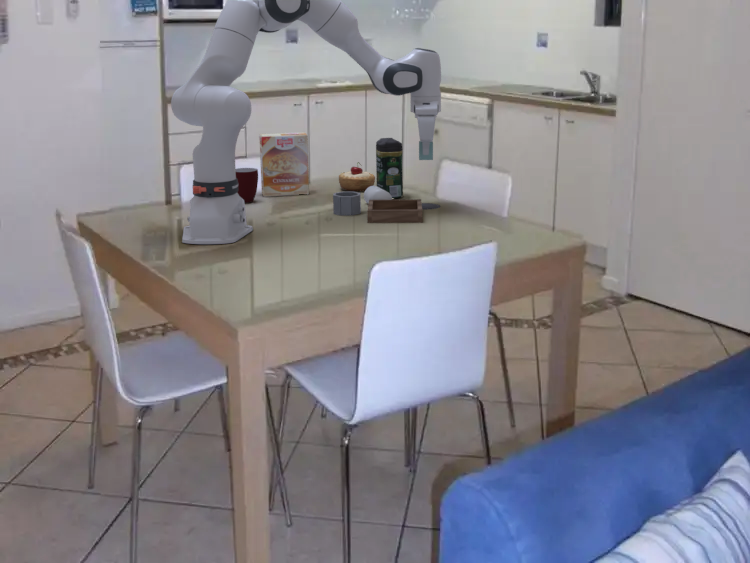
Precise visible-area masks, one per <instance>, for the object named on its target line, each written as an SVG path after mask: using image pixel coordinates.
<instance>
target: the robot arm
mask: <svg viewBox="0 0 750 563" xmlns="http://www.w3.org/2000/svg"><path fill="white" fill-rule="evenodd" d="M296 21H301V22H302V23H304V24H306V25H307V26H308V27H309V28H310V29H311V30H312V31H313V32H314V33H315V34H317V35H318V36H319V37H321V39H323V40H324V41H325V42H327V43H328V44H330V45H332V46H334V47H336V48H338V49H339V50H341V51H343V52H345V54H347V55H348V57H350V58H351V59H353V61H354V62H356V64H358V65H359V66H360V67H361V68H362V69H363V70H364V71H365V72H366V74H367V75H368V76H369V80H370V82H371V84H372V86H373V87H374V89H376V91H378V92H379V93H381V94H385V95H390V96H398V97H399V96H404V95H406V94H410V112H411V113H413V114H414V118H416V119H417V125H418V126H417V127H418V135H419V141H421V142H422V146H423V155H429V145H430V142H432V141H433V140H434V136H435V126H436V119H437V115H438V114H439V113H441V112H442V111H441V110H442V92H441V86H440V85H441V82H442V67H441V66H442V65H441V59H440V56H439V55H440V54H439V53H438V52H436V51H435V50H432V49H427V48H421V47H417V48H413V49H412V50H411V51H410V52H409V53H407V54H405V55H403V56H402V57H400V58H397V59H391V58H389V57H386V56H384V55H382V54H380V53H379V52H378V51H377V49H375V48H374V47H373V46H372V45H371V44H370V43H368V41H367V40H366V39H365V38H364V37H363V36H362V34H361V33H360V29H359V23H358V19H357V18H356V16H355V14H354V13H353V12H352V11H351V9H350V8H349V6H347V5H346V4H345V2H343V1H342V0H227V1H226V3H225V4H224V6H223V8H222V9H221V11H220V13H219V15H218V18H217V20H216V22H215V26H214V28H213V31H212V34H211V36H210V39H209V42H208V46H207V48H206V50H205V53H204V55H203V58H202V59H201V61H200V62H199V64H198V66H197V68H196V69H195V70H194V72H193V73H192V74H191V76H190V77H189V78H188V80H187V81H186V82H185V83H184V84H182V85H181V86H180V87H178V88H177V89H175V91H174V92H173V94H172V96H171V100H170V105H171V110H172V113H173V115H174V116H175V117H176V118H177V119H178V120H179V121H181V122H183V123H185V124H187V125H190V126H195V127H202V135H201V139H200V141H199V143H198V144H197V145H196V146H194V148H193V150H192V165H193V178H194V179H193V180H192V195H193V197H191V199H190V200H189V203H190V205H189V206H190V207H189V208H190V209H189V216H187V222H189V225H186V226H184V227H183V232H182V239H181V240H182V241H181V242H182V243H183V244H192V245H221V244H222V245H223V244H225V245H226V244H231V243H235V242H238V241H239V240H241V239H242V238H244V237H245V236H246V235H248V234H249V233H252V232H253V230H254V227H253V225H249V224H247V213H246V203H245V202H244V200H243V199H242V198H241V197H240V196H239V194H238V193H237V192H238V179H237V178H236V170H235V169H236V148H237V147H236V146H237V141H238V137H239V135H240V132H241V130H242V128H243V127H244V125H246V124H247V123H248V121H249V120H250V118H251V116H252V115H251V114H252V102H251V100H250V97H249V96H248V94H247V93H245V92H244V91H243V90H240V89H238V88H236V87H233V86H231V85H232V84H233V83H234V81H236V80H237V79H238V78H240V77H241V76H242V75H243V74H244V73H245V72H246V69H247V67H248V63H249V60H250V57H251V55H252V51H253V49H254V46H255V43H256V39H257V35H258V34H259V32H261V33H268V34H270V33H277V32H278V31H280V30H283V29H285V28H287V27H289V26H290V25H292V24H293V23H294V22H296Z"/></svg>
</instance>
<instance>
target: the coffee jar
mask: <svg viewBox="0 0 750 563" xmlns="http://www.w3.org/2000/svg"><path fill="white" fill-rule="evenodd" d="M403 149H404V148H403V143H402V142H400V141H399V140H398V139H397V140H396V139H395V138H393V137H381V138H379V139H378V140H377V141H376V142H375V159H376V160H375V162H376V163H375V165H376V166H375V167H376V171H375V173H376V174H375V175H376V186H377V187H379V188H381V189H383V190H385V191H387V192H388V193H390V195H391V196H392V198H396V199H399V198H402V197H403V196H404V193H403V192H404V189H403V185H404V184H403V152H404V151H403Z"/></svg>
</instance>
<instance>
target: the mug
mask: <svg viewBox="0 0 750 563" xmlns="http://www.w3.org/2000/svg"><path fill="white" fill-rule="evenodd" d="M235 170H236V178H237V179H238V192H237V193H238V194H239V196H240V197H241V198H242V199H243V200H244V202H245V204H249V203H252V202H254V200H255V198H256V195H257V191H258V184H259V183H258V182H259V171H258V170H259V169H258V168H255V167H240V168H239V167H238V168H235Z"/></svg>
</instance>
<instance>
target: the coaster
mask: <svg viewBox="0 0 750 563" xmlns="http://www.w3.org/2000/svg"><path fill="white" fill-rule="evenodd" d="M439 208H441V205H440V204H437V203H433V202H432V203H429V202H428V203H427V202H422V211H423V210H436V209H439Z"/></svg>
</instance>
